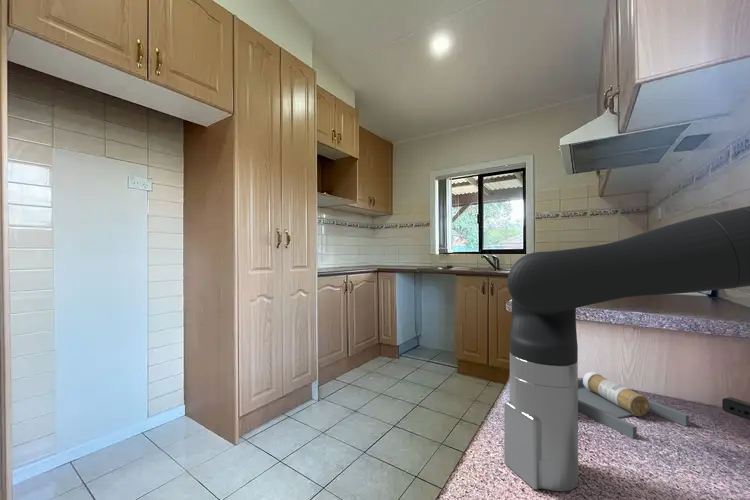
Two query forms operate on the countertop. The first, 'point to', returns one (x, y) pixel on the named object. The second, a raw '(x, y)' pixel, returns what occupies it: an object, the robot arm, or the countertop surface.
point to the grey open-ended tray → (620, 411)
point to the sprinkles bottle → (616, 393)
